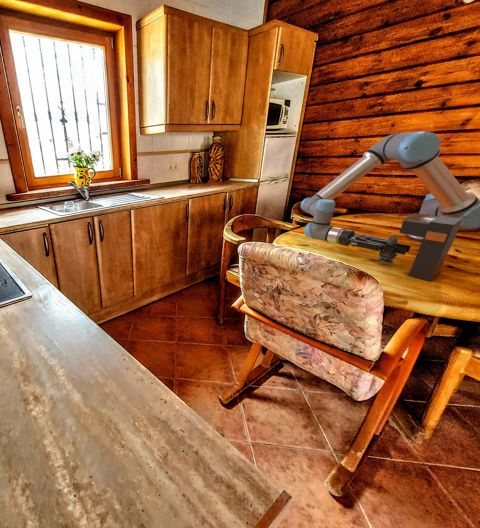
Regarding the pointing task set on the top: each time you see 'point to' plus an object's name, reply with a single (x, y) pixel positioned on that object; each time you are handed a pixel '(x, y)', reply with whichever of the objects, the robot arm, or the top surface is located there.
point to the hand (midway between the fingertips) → (407, 250)
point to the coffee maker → (430, 242)
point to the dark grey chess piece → (388, 256)
